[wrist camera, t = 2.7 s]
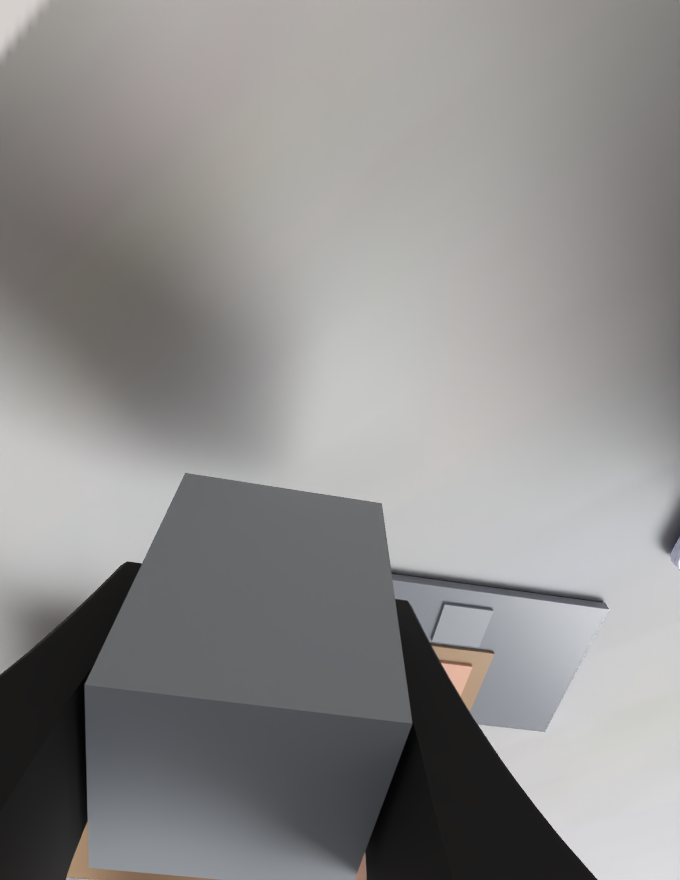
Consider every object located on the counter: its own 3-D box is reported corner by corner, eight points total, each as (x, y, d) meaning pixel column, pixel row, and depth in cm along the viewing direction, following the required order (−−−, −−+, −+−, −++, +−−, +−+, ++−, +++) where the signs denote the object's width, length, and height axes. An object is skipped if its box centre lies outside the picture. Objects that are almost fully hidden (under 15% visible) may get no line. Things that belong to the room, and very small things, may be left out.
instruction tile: (605, 602, 18) (611, 614, 18) (542, 724, 21) (547, 736, 20) (363, 569, 17) (364, 580, 17) (330, 700, 20) (330, 712, 19)
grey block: (381, 503, 11) (412, 723, 7) (344, 643, 13) (350, 891, 9) (184, 473, 11) (83, 685, 7) (174, 621, 13) (88, 867, 8)
